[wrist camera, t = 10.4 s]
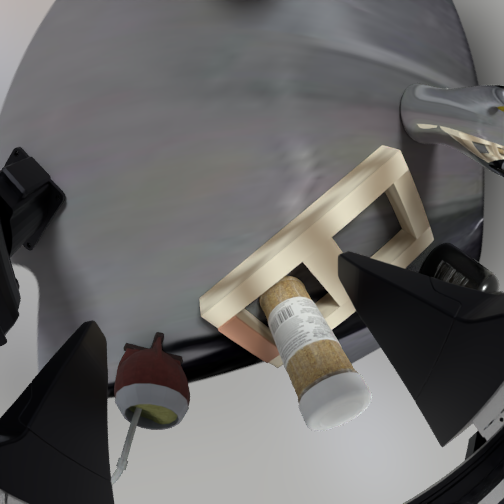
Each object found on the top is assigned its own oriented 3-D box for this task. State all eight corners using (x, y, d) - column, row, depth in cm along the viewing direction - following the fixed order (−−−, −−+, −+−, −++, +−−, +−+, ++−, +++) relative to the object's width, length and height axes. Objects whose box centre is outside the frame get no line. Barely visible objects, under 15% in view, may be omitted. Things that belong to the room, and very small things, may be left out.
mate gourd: (195, 338, 27) (214, 483, 14) (174, 382, 29) (185, 502, 16) (122, 319, 24) (101, 470, 11) (112, 367, 27) (101, 491, 14)
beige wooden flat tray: (271, 351, 30) (278, 370, 27) (199, 298, 24) (201, 318, 22) (419, 229, 26) (435, 241, 24) (382, 145, 21) (402, 150, 19)
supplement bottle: (424, 296, 32) (479, 354, 22) (413, 266, 29) (481, 329, 18) (456, 263, 31) (514, 312, 21) (449, 230, 28) (520, 280, 17)
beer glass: (449, 134, 22) (569, 179, 9) (408, 158, 22) (544, 220, 9) (431, 72, 18) (565, 91, 5) (386, 88, 19) (545, 109, 6)
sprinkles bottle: (274, 320, 27) (323, 438, 16) (248, 293, 25) (294, 425, 14) (312, 294, 27) (380, 404, 15) (290, 264, 25) (364, 385, 13)
